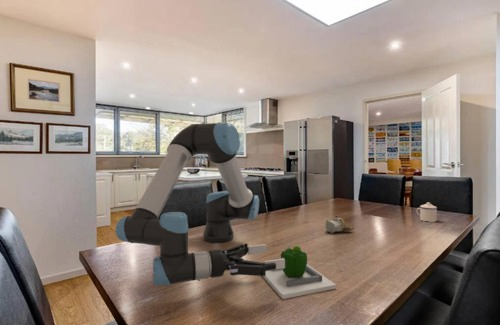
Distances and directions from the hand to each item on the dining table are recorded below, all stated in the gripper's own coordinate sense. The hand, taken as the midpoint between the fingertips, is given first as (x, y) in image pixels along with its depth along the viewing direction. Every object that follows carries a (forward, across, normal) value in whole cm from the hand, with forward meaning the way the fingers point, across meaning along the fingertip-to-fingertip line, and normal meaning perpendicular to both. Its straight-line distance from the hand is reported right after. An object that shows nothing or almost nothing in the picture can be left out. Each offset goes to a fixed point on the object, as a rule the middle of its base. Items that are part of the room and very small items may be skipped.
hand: (274, 255), depth 84 cm
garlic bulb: (+57, -42, -9) cm, 71 cm away
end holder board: (+7, 0, -9) cm, 11 cm away
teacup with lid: (+126, -43, -9) cm, 134 cm away
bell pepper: (+7, 0, -8) cm, 10 cm away
